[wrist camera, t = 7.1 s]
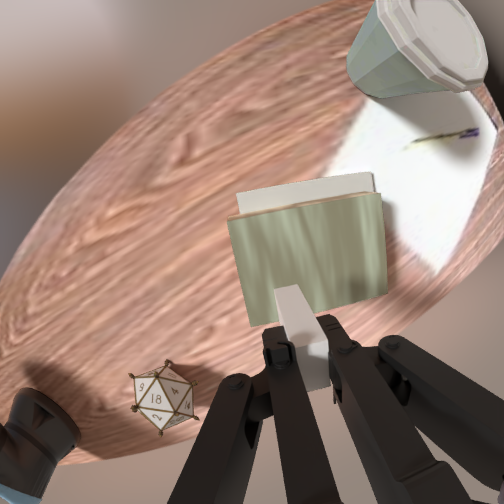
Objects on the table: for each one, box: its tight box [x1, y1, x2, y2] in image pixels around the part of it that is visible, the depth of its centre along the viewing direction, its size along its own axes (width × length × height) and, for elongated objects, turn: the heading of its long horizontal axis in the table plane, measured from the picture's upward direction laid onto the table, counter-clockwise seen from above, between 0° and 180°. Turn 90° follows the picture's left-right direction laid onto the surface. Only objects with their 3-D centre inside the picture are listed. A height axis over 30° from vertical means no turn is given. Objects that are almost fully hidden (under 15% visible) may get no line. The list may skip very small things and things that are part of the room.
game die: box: [128, 360, 199, 437], centre depth 28 cm, size 9×8×10 cm
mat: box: [236, 172, 378, 309], centre depth 28 cm, size 14×14×1 cm
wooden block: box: [227, 191, 388, 327], centre depth 26 cm, size 4×10×14 cm
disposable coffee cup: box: [347, 0, 488, 99], centre depth 16 cm, size 11×11×15 cm
